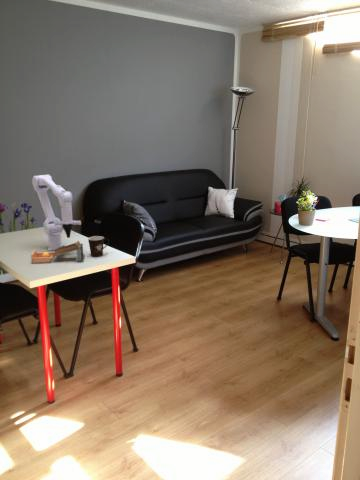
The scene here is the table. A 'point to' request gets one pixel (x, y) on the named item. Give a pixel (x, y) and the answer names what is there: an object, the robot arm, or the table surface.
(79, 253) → the pivot stand
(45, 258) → the tray
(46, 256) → the ball
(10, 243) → the table surface
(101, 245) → the coffee mug
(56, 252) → the tipping chute
